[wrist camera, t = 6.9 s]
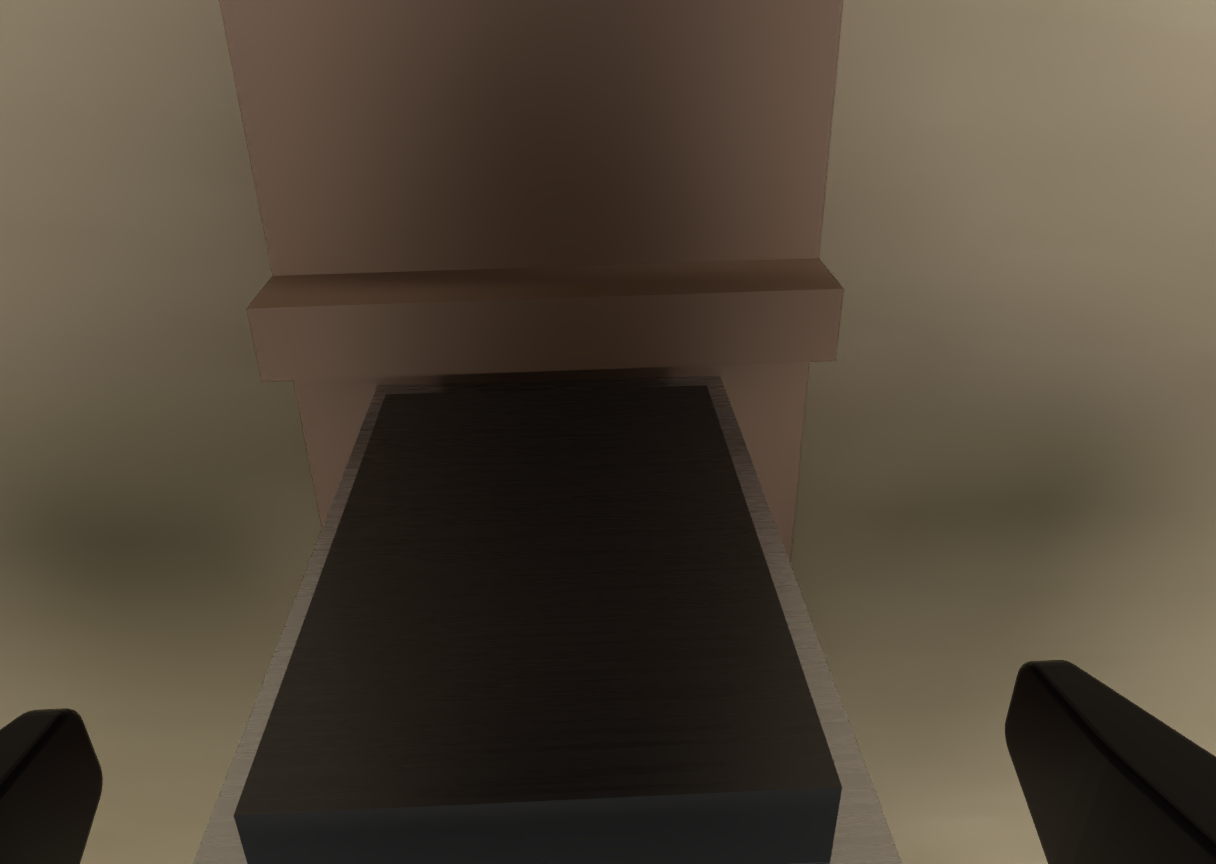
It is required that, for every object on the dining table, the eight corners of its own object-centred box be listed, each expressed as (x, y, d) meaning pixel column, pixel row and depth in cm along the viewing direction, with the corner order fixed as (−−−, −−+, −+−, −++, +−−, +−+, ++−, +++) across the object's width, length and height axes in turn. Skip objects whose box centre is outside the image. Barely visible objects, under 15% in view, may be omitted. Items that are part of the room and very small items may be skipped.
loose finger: (705, 639, 13) (843, 1286, 7) (413, 649, 13) (282, 1327, 7) (722, 328, 11) (949, 866, 5) (370, 336, 11) (115, 907, 4)
